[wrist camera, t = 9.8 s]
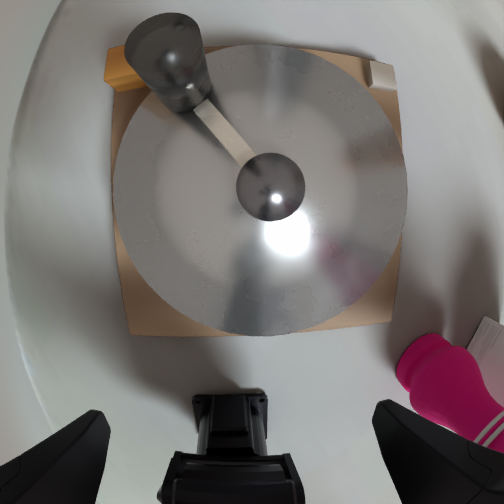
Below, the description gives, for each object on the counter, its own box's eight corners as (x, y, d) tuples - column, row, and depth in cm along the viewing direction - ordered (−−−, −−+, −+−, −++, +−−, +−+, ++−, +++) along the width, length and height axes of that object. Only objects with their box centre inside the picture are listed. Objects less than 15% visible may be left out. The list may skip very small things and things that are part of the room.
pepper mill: (380, 365, 23) (497, 528, 3) (436, 313, 22) (584, 433, 2) (405, 397, 24) (495, 526, 4) (452, 353, 23) (563, 458, 4)
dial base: (382, 313, 21) (406, 335, 17) (136, 326, 20) (118, 352, 16) (383, 71, 17) (409, 54, 13) (125, 67, 16) (104, 46, 12)
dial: (430, 215, 18) (506, 232, 10) (244, 366, 20) (250, 447, 12) (283, 18, 14) (307, -52, 7) (78, 176, 16) (0, 176, 8)
